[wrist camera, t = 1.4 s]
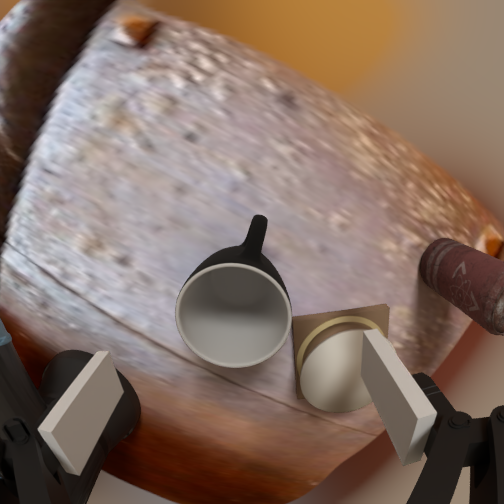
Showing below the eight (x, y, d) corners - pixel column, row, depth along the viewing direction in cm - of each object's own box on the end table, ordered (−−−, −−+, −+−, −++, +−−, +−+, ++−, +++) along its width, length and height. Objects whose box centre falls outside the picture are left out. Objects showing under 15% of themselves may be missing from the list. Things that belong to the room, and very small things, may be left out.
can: (438, 297, 34) (505, 352, 20) (409, 267, 33) (480, 317, 19) (467, 259, 33) (542, 299, 19) (440, 226, 32) (522, 257, 18)
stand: (296, 393, 37) (301, 419, 32) (291, 316, 34) (297, 338, 29) (379, 379, 36) (392, 402, 32) (385, 303, 34) (402, 322, 29)
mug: (267, 325, 35) (270, 379, 25) (188, 303, 34) (165, 350, 24) (303, 221, 32) (324, 243, 22) (217, 195, 31) (199, 205, 22)
